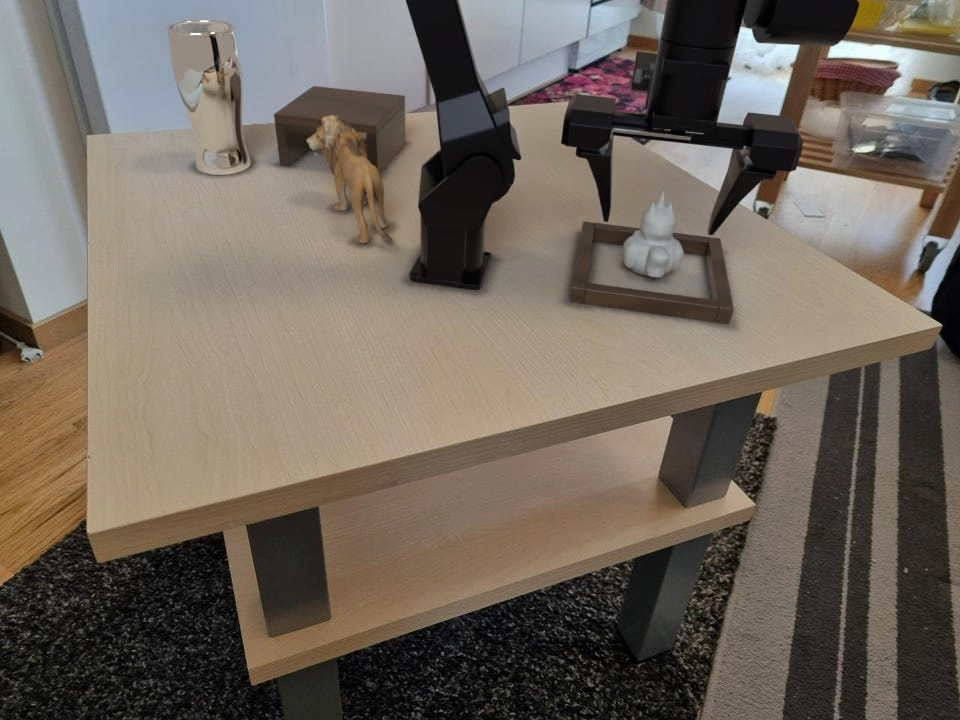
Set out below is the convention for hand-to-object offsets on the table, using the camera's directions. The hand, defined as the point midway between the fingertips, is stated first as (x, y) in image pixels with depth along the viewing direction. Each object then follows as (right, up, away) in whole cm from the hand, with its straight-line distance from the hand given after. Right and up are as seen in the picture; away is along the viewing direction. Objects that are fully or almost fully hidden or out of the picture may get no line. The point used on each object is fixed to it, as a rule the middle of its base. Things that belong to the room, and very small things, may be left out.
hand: (657, 226), depth 64 cm
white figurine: (0, -4, +3) cm, 5 cm away
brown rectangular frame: (0, -4, +3) cm, 5 cm away
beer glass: (-46, +11, +19) cm, 51 cm away
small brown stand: (-33, +14, +24) cm, 43 cm away
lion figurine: (-29, +3, +10) cm, 31 cm away
